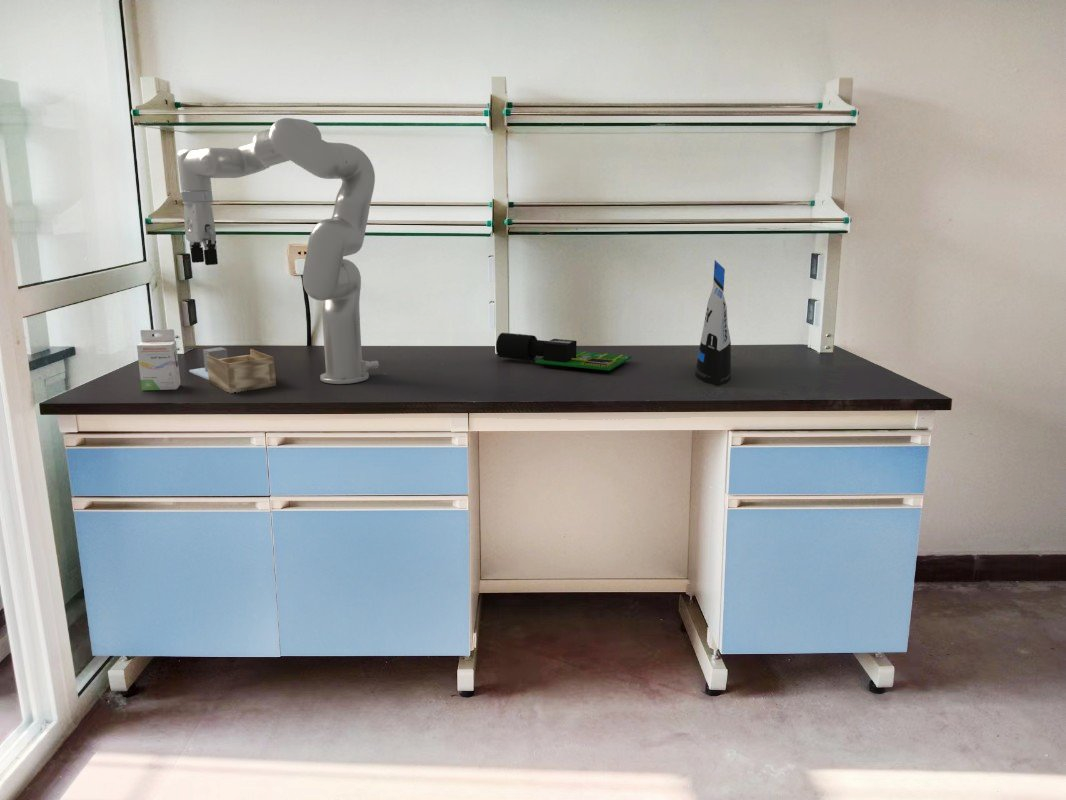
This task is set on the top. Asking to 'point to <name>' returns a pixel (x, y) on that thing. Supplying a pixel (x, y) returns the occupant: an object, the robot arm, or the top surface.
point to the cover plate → (200, 372)
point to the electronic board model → (554, 353)
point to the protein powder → (715, 336)
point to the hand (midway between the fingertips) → (204, 263)
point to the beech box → (242, 372)
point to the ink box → (158, 360)
